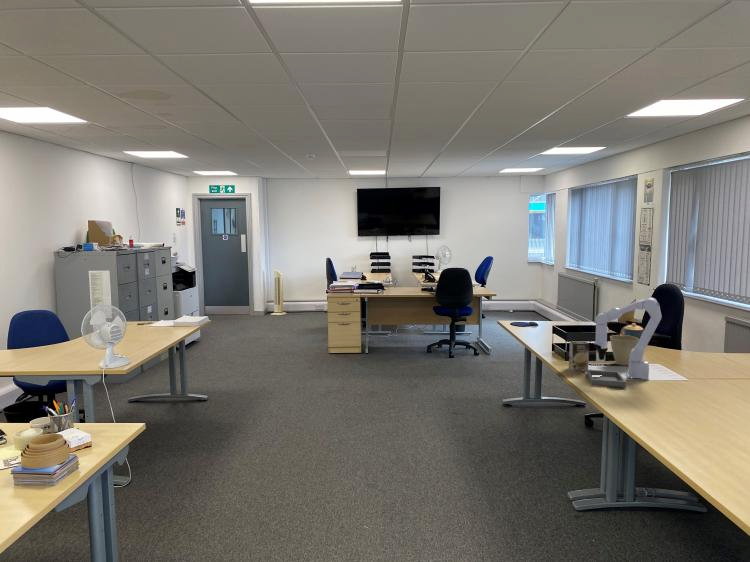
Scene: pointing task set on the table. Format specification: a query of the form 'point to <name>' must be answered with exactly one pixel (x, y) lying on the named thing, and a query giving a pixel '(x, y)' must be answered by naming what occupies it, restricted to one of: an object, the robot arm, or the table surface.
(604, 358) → the cylinder
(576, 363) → the coffee box
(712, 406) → the table surface
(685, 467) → the table surface
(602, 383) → the tray
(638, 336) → the canister
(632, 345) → the plant pot
